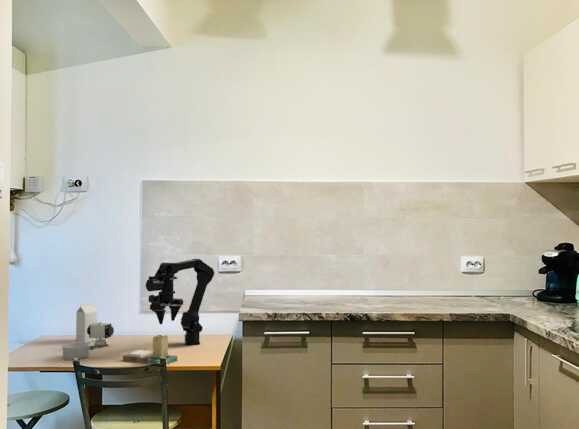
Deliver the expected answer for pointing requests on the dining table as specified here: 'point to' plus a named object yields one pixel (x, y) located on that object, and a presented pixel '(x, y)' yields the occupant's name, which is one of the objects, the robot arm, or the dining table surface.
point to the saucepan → (78, 350)
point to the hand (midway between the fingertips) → (166, 322)
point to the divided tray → (146, 357)
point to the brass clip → (160, 346)
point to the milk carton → (85, 322)
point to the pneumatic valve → (100, 332)
